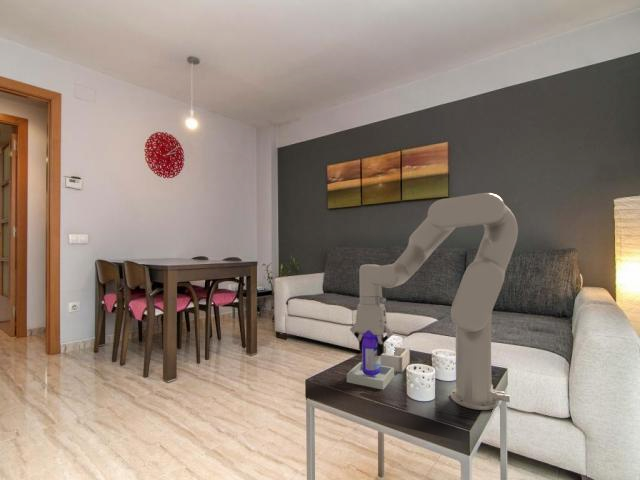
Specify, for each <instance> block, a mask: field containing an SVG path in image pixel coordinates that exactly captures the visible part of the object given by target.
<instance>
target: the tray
mask: <svg viewBox="0 0 640 480" xmlns="http://www.w3.org/2000/svg"><path fill="white" fill-rule="evenodd" d="M394 377H395V372H394V368H392V367H387V366H381V370H380V372H379V373H378V374H377V375H374V376H370V375H366V374H364V373H363V370H362V361H360V362H358V363H357V364H356V365H355V366H354V367H353V368H351V369H350V370H349V371H348V372H347V373H346V383H349V384H354V385H359V386H363V387H369V388H373V389H378V390H385V388H386V387H387V386H388V385H389V383H390V382H391V381H392V379H393V378H394Z"/></svg>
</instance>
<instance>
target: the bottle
mask: <svg viewBox="0 0 640 480" xmlns="http://www.w3.org/2000/svg"><path fill="white" fill-rule="evenodd" d="M363 336H364V338H363V341H362V353H361V354H362V357H361V358H362V359H361V362H362V370H363V373H364V374H366V375H370V376H374V375H377V374H378V373H379V372H380V370H381V359H380V356H378V344H379V341H378V338H377V335H374V334H373V333H372V332H371V331H370V330H368V331H366V332H365V333H364V334H363Z"/></svg>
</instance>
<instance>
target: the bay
mask: <svg viewBox="0 0 640 480" xmlns="http://www.w3.org/2000/svg"><path fill="white" fill-rule="evenodd" d="M385 345H386V344H384V352H383V353H382V355H381V356H380V359H381V366H387V367H392V368H394V373H398V374H403V372H404V371H405V370H406V369H407V367H408V366H409V364H410V362H411V351H410V350H411V349H410V347H409V348H408V347H402V346H397V347H394V348H395V350H394V351H395V352H394V355H388V354H385V353H386V346H385ZM407 365H408V366H407ZM406 366H407V367H406Z"/></svg>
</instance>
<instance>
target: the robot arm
mask: <svg viewBox="0 0 640 480" xmlns="http://www.w3.org/2000/svg"><path fill="white" fill-rule="evenodd" d="M481 225H482V226H483V229H484V233H483V235H482V239H481V241H480V244H479V247H478V249H477V252H476V255H475V257H474V259H473V262H470V264H469V265H468V266H467V267H466V269H465V271H464V273H463V276H462V278H461V282H460V283H459V287H458V289H457V292H456V294H455V297H454V299H453V302H452V304H451V309H450V317H451V320H452V322H453V324H454V325H455V388H453V389H452V390H451V391H450V398H451V401H453V402H454V403H456V404H457V405H459V406H462V407H464V408H467V409H472V410H477V411H489V410H493V409H495V408H497V407H498V403H499V401H500V402H504V403H510V402H511V401H510V397H511V396H510V394H506V393H505V391H502V390H496V389H495V388H494V385H493V384H492V312H493V309H494V308H495V304H496V303H497V299H498V297H499V295H500V292H501V290H502V287H503V284H504V281H505V275H506V271H507V268H508V265H509V263H510V261H511V258H512V255H513V252H514V249H515V246H516V244H517V241H518V234H519V226H518V222H517V219H516V217H515V215H514V213H513V212H512V210H511V209H510V208H509V207H508V206H507V205H506V204H505V203H504V200H503V198H501V197H500V196H499V195H497V194H495V193H491V192H482V193H474V194H469V195H468V194H467V195H462V196H456V197H450V198H449V197H447V198H441V199H438V200H436V201H434V202H433V203H432V204H431V205H430V206H429V208H428V211H427V217H426V218H424V220H423V221H422V222H421V224H420V225H418V227H417V228H416V229H415V230H414V231H412V234H410V236H409V238H408V244H407V247H406V249H405V250H404V251H403V252H402V254H401V255H400V256H399V257H398V258H397V259H396V261H394V263H390V264H389V263H388V264H386V265H379V264H374V263H367V264H362V265H360V267H359V272H358V273H359V303H358V304H357V308H356V317H355V323H354V324H353V325H352V326H351V327H350V329H349V330H350V332H351V333H352V334H353V336H354V337H355V338H356V339H357V341H358V349H359V353H360V354H362V341H363V338H364V336H363V334H364V333H365V332H366V331H368V330H370V331H371V332H372V333H373V334H374V335H377V338H378V341H379V344H378V356H381V355H382V353H383V352H384V345H385V342H386V341H387V340H388V339H390V338H391V337H393V335H394V332H393V331H392V329H391V328H390V327H389V326H388V319H387V317H388V316H387V310H386V307H385V304H383V303H386V301H387V298H386V297H383V291H382V290H383V288H387V289H392V288H395V287H398V286H401V285H403V284H405V283H406V282H407V281H408V280H409V279H410V278H411V277H412V276H413V275H414V274H415V273H416V272H418V270H419V269H420V268H421V267H422V266H423V264H424V263H425V262H426V261H427V260H428V258H429V257H430V256H431V255H432V253H433V252H434V251H435V250H436V249H437V248H438V247H440V245H441V244H442V243H443V242H444V241H445V240H446V239H447V238H448V237H449V236H450V234H451V233H453V231H455V229H456V228H462V227H463V228H464V227H473V226H481ZM382 287H383V288H382ZM385 333H386V335H385V336H384V334H385Z"/></svg>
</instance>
